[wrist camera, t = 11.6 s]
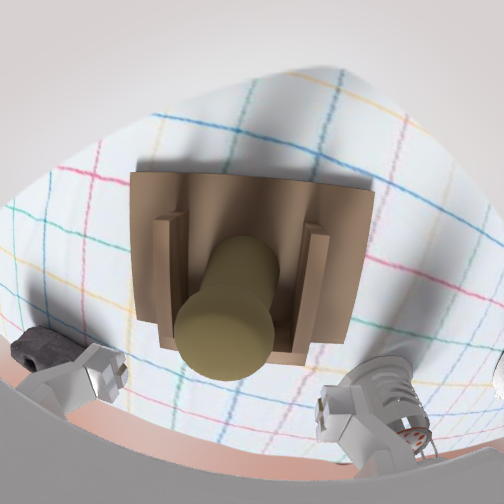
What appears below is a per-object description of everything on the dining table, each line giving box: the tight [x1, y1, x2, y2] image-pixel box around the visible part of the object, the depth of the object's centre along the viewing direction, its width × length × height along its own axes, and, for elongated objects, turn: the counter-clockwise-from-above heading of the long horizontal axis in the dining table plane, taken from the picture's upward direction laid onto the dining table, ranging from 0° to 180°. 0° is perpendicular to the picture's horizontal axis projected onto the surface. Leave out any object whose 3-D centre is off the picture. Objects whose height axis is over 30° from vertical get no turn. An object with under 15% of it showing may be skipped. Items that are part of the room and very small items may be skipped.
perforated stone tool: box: [11, 325, 86, 373], centre depth 26 cm, size 15×5×7 cm, turn 75°
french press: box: [338, 355, 448, 468], centre depth 15 cm, size 10×12×25 cm
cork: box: [174, 236, 280, 381], centre depth 17 cm, size 6×6×11 cm
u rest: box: [130, 172, 375, 366], centre depth 21 cm, size 20×14×6 cm
